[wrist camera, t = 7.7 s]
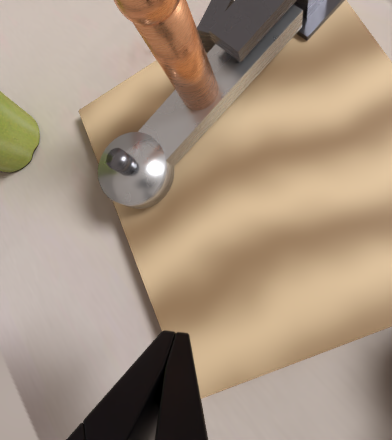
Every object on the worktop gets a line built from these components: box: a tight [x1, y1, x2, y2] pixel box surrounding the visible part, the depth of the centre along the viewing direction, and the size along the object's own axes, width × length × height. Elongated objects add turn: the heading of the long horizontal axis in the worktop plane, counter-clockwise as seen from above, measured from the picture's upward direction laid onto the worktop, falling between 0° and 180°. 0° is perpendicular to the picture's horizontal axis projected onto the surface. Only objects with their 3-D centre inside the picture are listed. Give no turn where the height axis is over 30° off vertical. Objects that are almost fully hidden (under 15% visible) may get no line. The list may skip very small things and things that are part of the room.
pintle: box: [106, 148, 137, 176], centre depth 22 cm, size 4×4×5 cm
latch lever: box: [98, 0, 303, 209], centre depth 17 cm, size 18×5×12 cm, turn 134°
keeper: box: [197, 0, 345, 62], centre depth 21 cm, size 9×7×5 cm
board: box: [79, 0, 392, 399], centre depth 22 cm, size 25×22×1 cm
